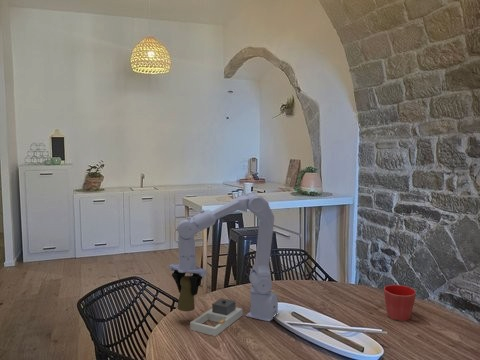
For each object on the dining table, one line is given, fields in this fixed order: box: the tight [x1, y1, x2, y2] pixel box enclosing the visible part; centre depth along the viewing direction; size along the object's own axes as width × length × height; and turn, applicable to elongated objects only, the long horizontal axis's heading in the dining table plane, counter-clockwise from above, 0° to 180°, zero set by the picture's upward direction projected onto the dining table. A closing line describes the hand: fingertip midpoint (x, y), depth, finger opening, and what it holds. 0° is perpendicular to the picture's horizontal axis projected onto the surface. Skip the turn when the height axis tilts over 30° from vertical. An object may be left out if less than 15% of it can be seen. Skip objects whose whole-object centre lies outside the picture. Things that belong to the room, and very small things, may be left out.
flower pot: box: [383, 284, 417, 322], centre depth 146 cm, size 11×11×10 cm
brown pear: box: [177, 275, 196, 312], centre depth 142 cm, size 6×6×11 cm
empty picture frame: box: [189, 297, 243, 337], centre depth 143 cm, size 10×18×6 cm, turn 151°
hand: (188, 293), depth 142 cm, fingers closed on brown pear, 5 cm apart
